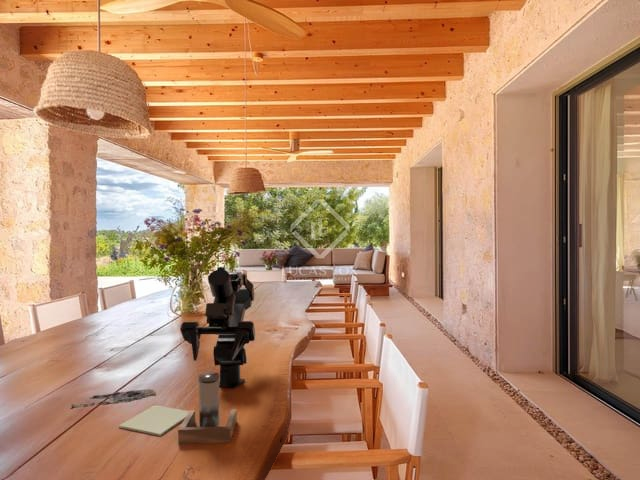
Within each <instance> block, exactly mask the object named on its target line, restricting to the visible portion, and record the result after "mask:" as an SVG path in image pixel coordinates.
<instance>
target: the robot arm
mask: <svg viewBox="0 0 640 480" xmlns="http://www.w3.org/2000/svg"><path fill="white" fill-rule="evenodd" d="M207 281H208V286H209V289H210V293H211V295H212V297H214V299H213V302H207V303H206V305H205V313H204V316H205V317H206V322H205V323H206V324H208V326H205V325H203V326H201V325H200V324H199V322H198V321H197V320H196V321H195V320H194V321H193V320H190V321H189V320H188V321H185V320H184V321H183V322H182V323H181V325H180V329H179V330H180V334H181V335H182V337H183V340H184V341H185V342H187V343H189V345H191V348H192V349H191V350H192V356H193V361H194V362H196V361H197V359H198V356H199V349H200V346H201V345H200V344H201V341H200V339H201V337H202V336H201V335H216V336H218V337H217V340H216V344H215V345H214V346H213V354H212V355H213V362H214V366H219V387H224V388H231V389H235V388H237V387H238V386H240V385H241V384H242V383H244V382H246V379H245V378H241V366H244V365H245V364H247V362H248V361H247V351H246V349H245V345H246V344H248V345H249V344H250V342H254V341H255V339H256V328H255V324H254V322H253V321H252V320H246V321H245V320H244V318H245V314H246V311H247V310H248V309H249V308H251V307H252V304H253V301H255V289H254V284H253V283H252V282H251V281H250V280H249V279H248V275H247V274H246V273H243V272H241V273H240V272H237V271H236V272H235V271H233V272H228V270H226V267H225V266H217V268H216V270H213V271H212V272H210V273H209V275H208V276H207ZM243 286H244V287H243Z"/></svg>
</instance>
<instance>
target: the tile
mask: <svg viewBox="0 0 640 480" xmlns="http://www.w3.org/2000/svg"><path fill="white" fill-rule="evenodd" d="M189 411H190V410H185V409H178V408H173V407H169V406H168V407H167V406H162V405H156V404H154V405H153V406H150V407H148V408H147V409H145V410H143V411H142V412H140V413H139V414H136V415H134V416H133V417H131V418H129V419H127V421H124V422H123V423H120V424H119V425H118V427H119V428H120V429H124V430H129V431H132V432H133V431H134V432H140V433H142V434H144V433H145V434H148V435H149V434H150V435H153V436H158V437H162V436H163V435H165V434H166V433H167V432H168V431H170V430H171V429H173V428H174V427H176V426H178V425H179V424H181V423H183V421H184V419H185V418H186V416H187V414H188V413H189Z"/></svg>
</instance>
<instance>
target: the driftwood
mask: <svg viewBox="0 0 640 480" xmlns="http://www.w3.org/2000/svg"><path fill="white" fill-rule="evenodd" d="M156 395H157V392H156V391H155V390H154V389H149V388H147V389H140V390H139V389H138V390H137V389H135V390H128V391H115V392H111V393H106V394H96V395H93V396H91V397H89V399H90V400H95V399H99V400H102V399H104V401H103V400H102V401H100V402H98V403H94V402H88V403H80V404H77V405H76V404H74V403H72V404H70V407H73V408H81V407H82V406H83V407H87V406H88V407H89V406H95V405H97V406H99V405H103V404H104V405H105V404H114V403H127V402H135V401H139V400H142V399H146V398H149V397H156ZM105 399H108V400H109V401H107V400H105Z"/></svg>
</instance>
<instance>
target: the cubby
mask: <svg viewBox="0 0 640 480" xmlns="http://www.w3.org/2000/svg"><path fill="white" fill-rule="evenodd" d="M237 410H238V409H236V408H235V409H234V408H233V409H231V410H230V414H229V415H228V418H227V420H226V423H225V425H224V426H220V427H200V426H195V423H196V409H190V410H188V411H189V413H188V414H187V416H186V418H185V419H184V420H183V421H182V422H181V423H180V426H179V428H178V429H177V437H178V439H177V440H178V441H177V443H178V444H211V443H214V444H215V443H217V444H218V443H219V444H220V443H221V444H222V443H231V441H232V436H233V434H234V431H235V428H236V424H237V421H238V420H237V419H238V417H237V416H238V415H237V413H238V412H237Z"/></svg>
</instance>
